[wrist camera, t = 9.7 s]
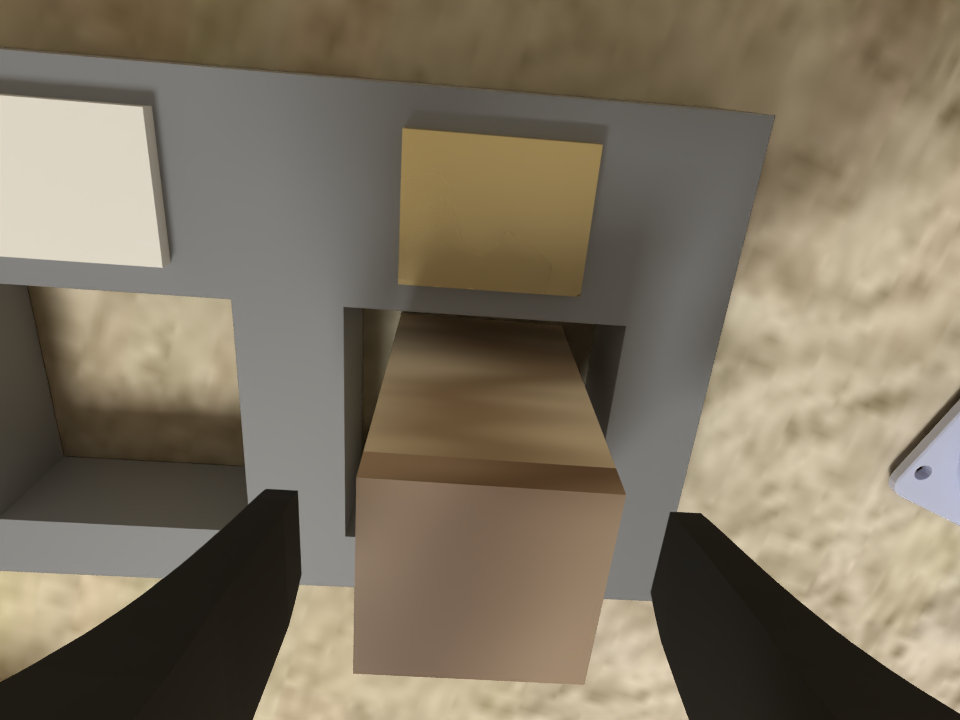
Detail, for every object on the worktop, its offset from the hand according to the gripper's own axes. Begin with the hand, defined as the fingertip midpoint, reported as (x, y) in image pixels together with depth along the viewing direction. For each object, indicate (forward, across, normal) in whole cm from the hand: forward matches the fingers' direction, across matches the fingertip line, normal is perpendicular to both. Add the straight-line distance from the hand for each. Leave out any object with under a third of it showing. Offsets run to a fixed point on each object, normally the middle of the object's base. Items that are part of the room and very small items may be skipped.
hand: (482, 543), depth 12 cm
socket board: (+7, +5, -2) cm, 8 cm away
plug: (+7, 0, 0) cm, 7 cm away
